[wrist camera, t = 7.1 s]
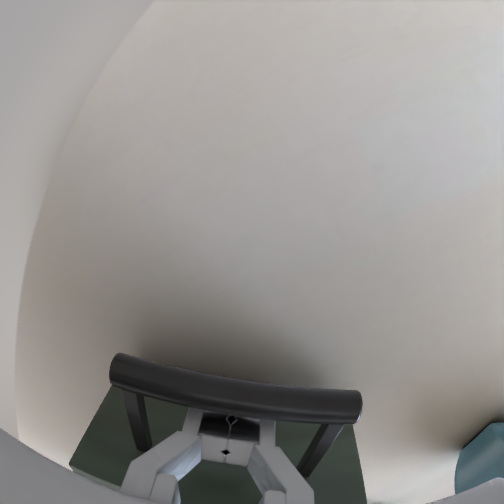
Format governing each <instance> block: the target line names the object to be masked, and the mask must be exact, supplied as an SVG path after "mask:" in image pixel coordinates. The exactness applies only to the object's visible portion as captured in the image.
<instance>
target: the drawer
mask: <svg viewBox="0 0 504 504" xmlns="http://www.w3.org/2000/svg"><path fill="white" fill-rule="evenodd" d="M109 380H110V383H111V384H112V386H111V388H110V390H109V392H108V393H107V395H106V397H105V398H104V400H103V402H102V404H101V405H100V407H99V409H98V411H97V412H96V414H95V416H94V418H93V420H92V421H91V423H90V425H89V427H88V428H87V430H86V432H85V434H84V436H83V438H82V439H81V441H80V443H79V445H78V447H77V449H76V451H75V452H74V454H73V456H72V458H71V460H70V462H69V466H70V467H71V468H72V470H73V471H74V472H75V473H77V474H80V475H82V476H84V477H86V478H88V479H91V480H93V481H95V482H98V483H100V484H102V485H105V486H107V487H110V488H112V489H115V490H118V491H120V488H121V486H122V483H123V480H124V478H125V475H126V473H127V470H128V468H129V465H130V463H131V461H133V460H135V459H136V458H138V457H139V456H141V455H142V454H144V453H145V452H147V451H149V450H150V449H152V448H153V447H155V446H156V445H158V444H159V443H161V442H162V441H163V440H165V439H166V438H168V437H169V436H171V435H172V434H174V433H175V432H176V431H181V432H182V428H183V425H184V422H185V418H186V415H187V412H188V408H189V407H191V408H196V409H201V410H206V411H211V412H216V413H222V414H228V415H234V416H241V417H248V418H255V419H264V420H273V421H276V424H275V446H278V447H280V448H281V450H282V451H283V452H284V454H285V455H286V456H287V458H288V459H289V460H290V462H291V463H292V464H293V465H294V467H295V468H296V469H297V471H298V472H299V473H300V474H301V476H302V477H303V478H304V479H305V481H306V482H307V483H308V484H309V485H310V487H311V488H312V489H313V490H314V504H367V499H366V493H365V487H364V481H363V475H362V470H361V465H360V459H359V454H358V449H357V444H356V439H355V434H354V430H353V425H352V424H354V423H356V422H357V421H358V420H359V418H360V416H361V412H362V405H363V402H362V396H361V393H360V392H359V391H357V390H338V389H321V388H307V387H296V386H286V385H277V384H269V383H261V382H254V381H247V380H240V379H234V378H228V377H222V376H217V375H211V374H206V373H201V372H196V371H191V370H187V369H182V368H178V367H173V366H169V365H165V364H161V363H157V362H153V361H149V360H145V359H141V358H138V357H134V356H130V355H127V354H123V353H118V354H116V355H115V356H114V358H113V360H112V362H111V366H110V370H109ZM178 487H179V493H180V500H181V502H180V504H258V503H259V502H260V500H261V498H262V496H263V495H262V494H261V492H260V490H259V489H258V487H257V485H256V483H255V482H254V480H253V478H252V476H251V475H250V473H249V471H248V469H247V467H244V466H237V465H231V464H225V463H218V462H211V461H205V460H201V461H200V462H199V463H198V464H197V465H196V466H195V467H194V468H193V469H191V470H190V471H189V472H188V473H187V474H186V475H185V476H184V477H182V478H181V479H180V480H179V481H178Z"/></svg>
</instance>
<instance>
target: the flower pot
mask: <svg viewBox="0 0 504 504" xmlns="http://www.w3.org/2000/svg"><path fill="white" fill-rule="evenodd" d="M494 478H503V479H504V422H501V423H491V424H490V425H488V426H487V427H486V428H485V429H484V430H483V431H482V432H481V433H480V434H479V435H478V436H477V437H476V438H475V439H474V440H473V441H472V442H470V443H469V444H468V445H467V446H466V447H465V448H464V449H462V450H461V452H460V455H459V458H458V462H457V466H456V471H455V494H458V493H460V492H463V491H466V490H468V489H471V488H473V487H476V486H478V485H480V484H483V483H485V482H487V481H489V480H492V479H494Z"/></svg>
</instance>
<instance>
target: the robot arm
mask: <svg viewBox="0 0 504 504" xmlns="http://www.w3.org/2000/svg"><path fill="white" fill-rule="evenodd" d="M275 424H276V421H273V420H264V419H255V418H248V417H241V416H234V415H228V414H222V413H216V412H211V411H206V410H201V409H196V408H191V407H189V408H188V412H187V415H186V418H185V422H184V425H183V428H182V432H181V431H176V432H175V433H174V434H172V435H171V436H169V437H168V438H166V439H165V440H163V441H162V442H161V443H159V444H158V445H156V446H155V447H153V448H152V449H150V450H149V451H147V452H145V453H144V454H142V455H141V456H139V457H138V458H136V459H135V460H133V461H131V463H130V465H129V468H128V470H127V473H126V475H125V478H124V480H123V483H122V486H121V488H120V491H118V490H115V489H112V488H110V487H107V486H105V485H102V484H100V483H98V482H95V481H93V480H91V479H88V478H86V477H84V476H82V475H80V474H77V473H75V472H73V471H71V470H69V469H67V468H65V467H63V466H61V465H59V464H58V463H56V462H54V461H52V460H50V459H48V458H47V457H45V456H43V455H41V454H40V453H38V452H36V451H35V450H33V449H31V448H30V447H28V446H27V445H25V444H23V443H22V442H20V441H19V440H17V439H16V438H14V437H12V436H11V435H10V434H8V433H7V432H6V431H4V430H3V429H1V428H0V504H180V502H181V500H180V493H179V487H178V481H179V480H180V479H181V478H182V477H184V476H185V475H186V474H187V473H188V472H189V471H190V470H191V469H193V468H194V467H195V466H196V465H197V464H198V463H199V462H200V461H201V460H205V461H211V462H218V463H225V464H231V465H237V466H244V467H247V469H248V471H249V473H250V475H251V476H252V478H253V480H254V482H255V483H256V485H257V487H258V489H259V490H260V492H261V494H262V495H263V496H262V498H261V500H260V502H259V503H258V504H314V490H313V489H312V488H311V487H310V485H309V484H308V483H307V482H306V481H305V479H304V478H303V477H302V476H301V474H300V473H299V472H298V471H297V469H296V468H295V467H294V465H293V464H292V463H291V462H290V460H289V459H288V458H287V456H286V455H285V454H284V452H283V451H282V450H281V448H280V447H278V446H275ZM427 504H504V479H503V478H494V479H492V480H489V481H487V482H485V483H483V484H480V485H478V486H476V487H473V488H471V489H468V490H466V491H463V492H460V493H458V494H455V495H452V496H449V497H446V498H443V499H440V500H437V501H434V502H430V503H427Z"/></svg>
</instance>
